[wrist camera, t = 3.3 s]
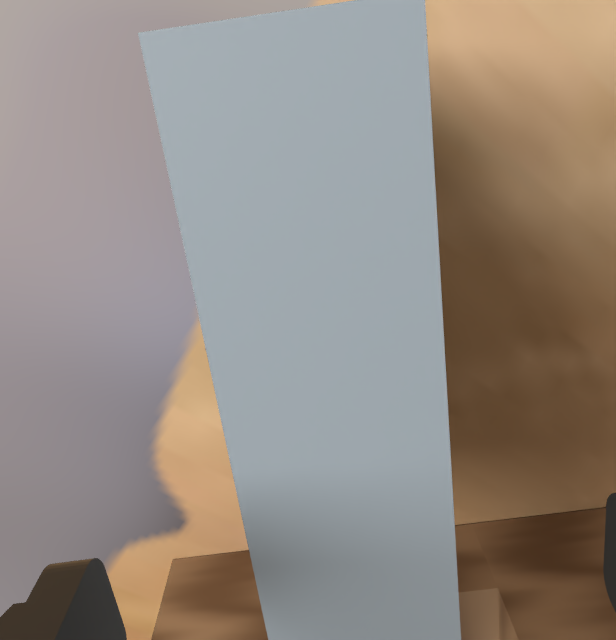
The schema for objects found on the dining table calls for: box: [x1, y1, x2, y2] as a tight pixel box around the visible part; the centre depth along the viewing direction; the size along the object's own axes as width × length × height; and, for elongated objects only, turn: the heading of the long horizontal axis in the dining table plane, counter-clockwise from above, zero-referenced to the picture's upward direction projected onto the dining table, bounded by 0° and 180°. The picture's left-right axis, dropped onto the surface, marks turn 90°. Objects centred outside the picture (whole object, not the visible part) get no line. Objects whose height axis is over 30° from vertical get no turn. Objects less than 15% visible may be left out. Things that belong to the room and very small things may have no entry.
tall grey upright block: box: [138, 0, 461, 640], centre depth 18 cm, size 4×16×14 cm, turn 8°
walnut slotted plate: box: [151, 508, 616, 640], centre depth 26 cm, size 24×3×8 cm, turn 98°
